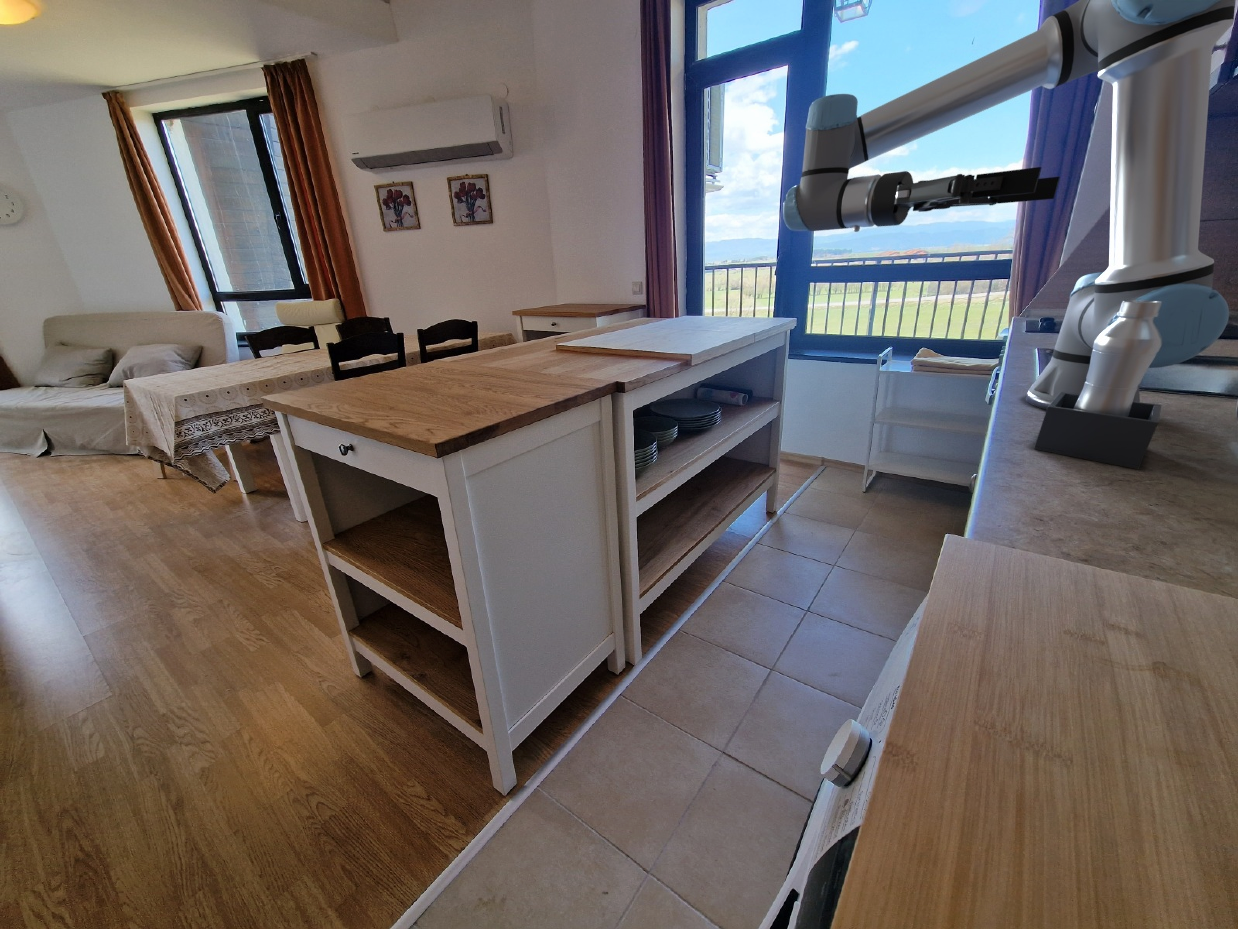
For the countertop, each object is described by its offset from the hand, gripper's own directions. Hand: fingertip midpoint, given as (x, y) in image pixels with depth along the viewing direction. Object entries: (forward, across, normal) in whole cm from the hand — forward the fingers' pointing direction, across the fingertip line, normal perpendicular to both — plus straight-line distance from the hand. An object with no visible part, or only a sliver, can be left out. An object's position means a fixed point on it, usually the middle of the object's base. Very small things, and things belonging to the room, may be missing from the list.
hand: (1048, 184), depth 63 cm
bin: (+13, -4, -35) cm, 37 cm away
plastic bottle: (+12, -4, -35) cm, 37 cm away
